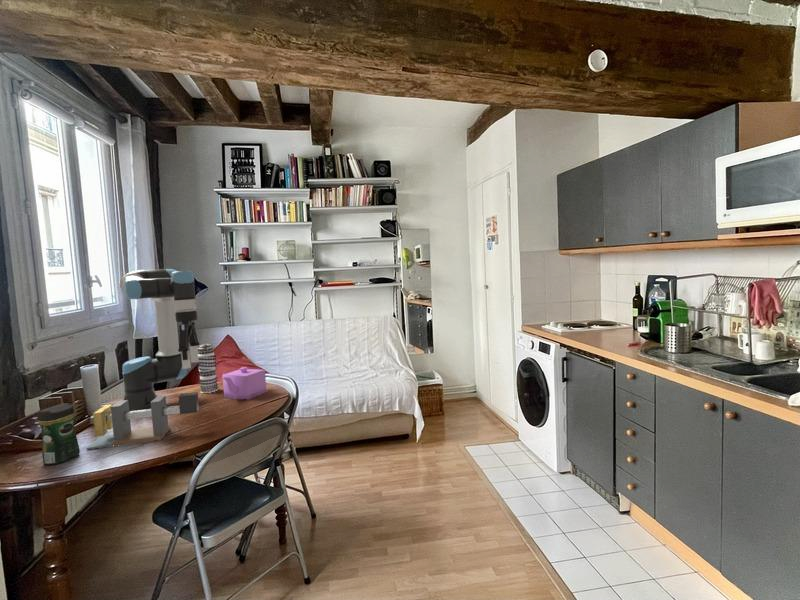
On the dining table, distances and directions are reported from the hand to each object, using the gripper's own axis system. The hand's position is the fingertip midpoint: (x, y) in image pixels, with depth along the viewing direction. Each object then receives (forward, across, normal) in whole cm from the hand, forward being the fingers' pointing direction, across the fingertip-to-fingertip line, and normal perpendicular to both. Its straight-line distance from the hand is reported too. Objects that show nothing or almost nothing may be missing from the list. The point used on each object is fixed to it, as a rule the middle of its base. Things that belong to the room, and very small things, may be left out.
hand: (191, 365), depth 165 cm
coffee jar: (+26, -13, +40) cm, 49 cm away
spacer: (+21, -1, +31) cm, 37 cm away
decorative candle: (+24, +60, +6) cm, 65 cm away
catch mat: (+25, -1, +31) cm, 40 cm away
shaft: (+18, -1, +17) cm, 24 cm away
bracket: (+25, -1, +19) cm, 31 cm away
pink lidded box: (+25, +43, -13) cm, 51 cm away
